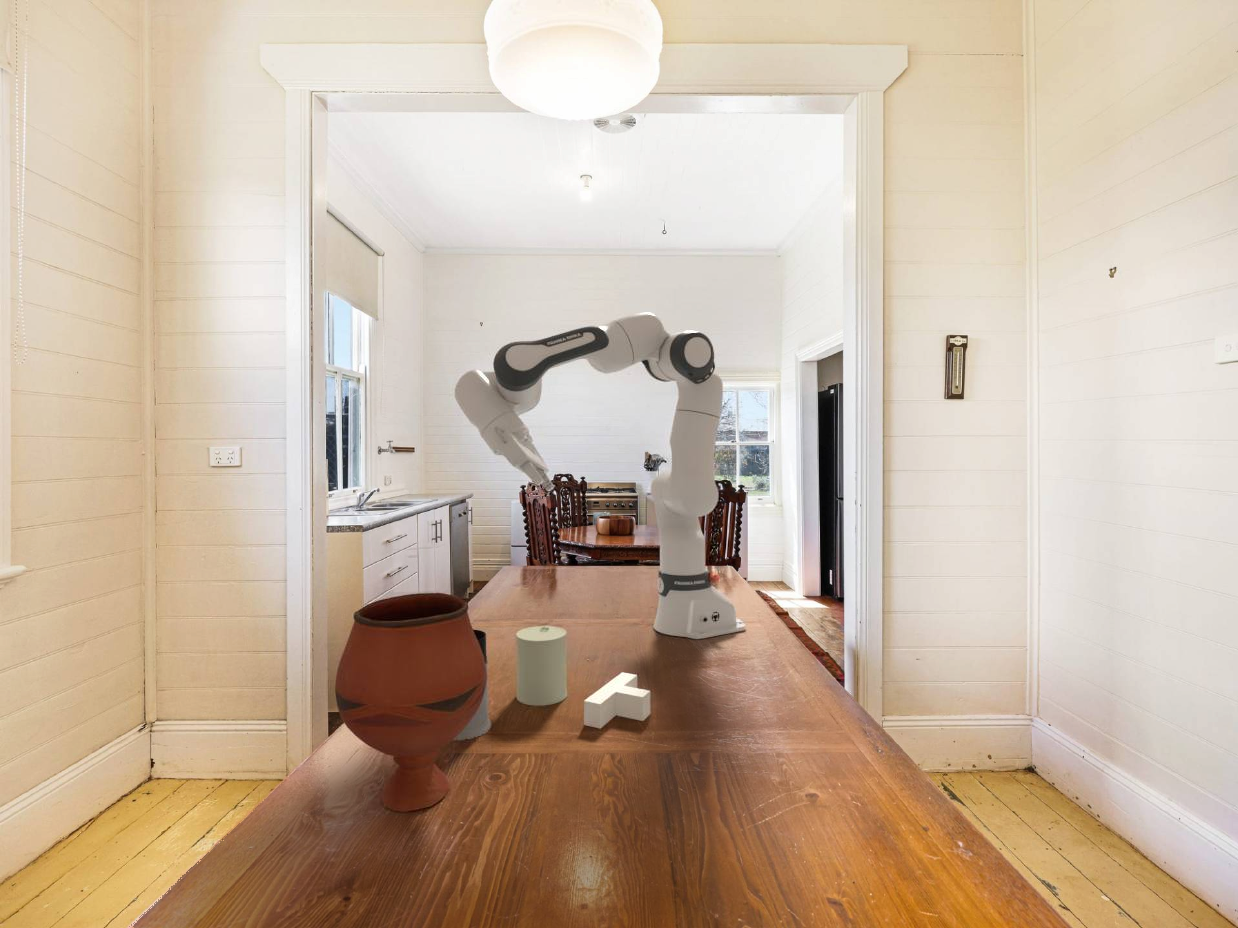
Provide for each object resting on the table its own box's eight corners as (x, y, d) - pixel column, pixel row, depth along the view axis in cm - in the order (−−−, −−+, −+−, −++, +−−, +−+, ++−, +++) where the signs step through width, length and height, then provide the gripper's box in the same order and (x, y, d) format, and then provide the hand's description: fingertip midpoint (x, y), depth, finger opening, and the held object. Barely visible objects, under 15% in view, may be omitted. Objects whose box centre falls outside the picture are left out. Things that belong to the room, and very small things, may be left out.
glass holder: (500, 719, 105) (499, 630, 105) (456, 760, 91) (454, 658, 91) (453, 713, 107) (452, 626, 107) (403, 753, 94) (402, 653, 93)
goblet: (435, 743, 97) (432, 581, 96) (519, 786, 85) (517, 602, 84) (308, 798, 82) (304, 608, 81) (388, 859, 70) (384, 637, 69)
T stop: (584, 724, 103) (584, 700, 103) (622, 693, 115) (622, 672, 115) (628, 734, 99) (628, 709, 99) (662, 701, 112) (662, 679, 112)
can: (571, 686, 119) (570, 623, 119) (562, 707, 110) (561, 638, 109) (523, 684, 120) (522, 622, 119) (510, 705, 111) (509, 637, 110)
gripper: (504, 414, 123) (546, 468, 120) (531, 436, 143) (567, 483, 140) (479, 434, 123) (520, 489, 120) (509, 454, 143) (545, 501, 140)
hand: (545, 486), depth 131 cm, fingers open, 8 cm apart
